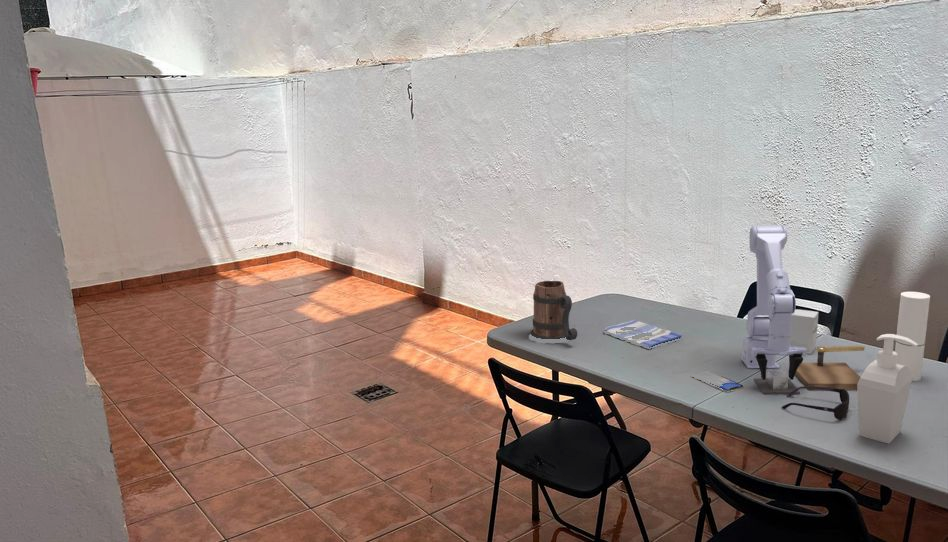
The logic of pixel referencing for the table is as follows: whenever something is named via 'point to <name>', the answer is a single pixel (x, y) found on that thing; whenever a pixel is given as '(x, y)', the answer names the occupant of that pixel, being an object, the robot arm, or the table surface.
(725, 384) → the smartphone
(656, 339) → the dish towel
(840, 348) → the lever
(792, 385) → the rubber mat
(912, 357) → the cylindrical container
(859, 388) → the soap bottle
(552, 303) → the tankard
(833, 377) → the wooden base
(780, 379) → the grey block
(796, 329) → the supplement box
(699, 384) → the table surface
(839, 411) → the sunglasses
